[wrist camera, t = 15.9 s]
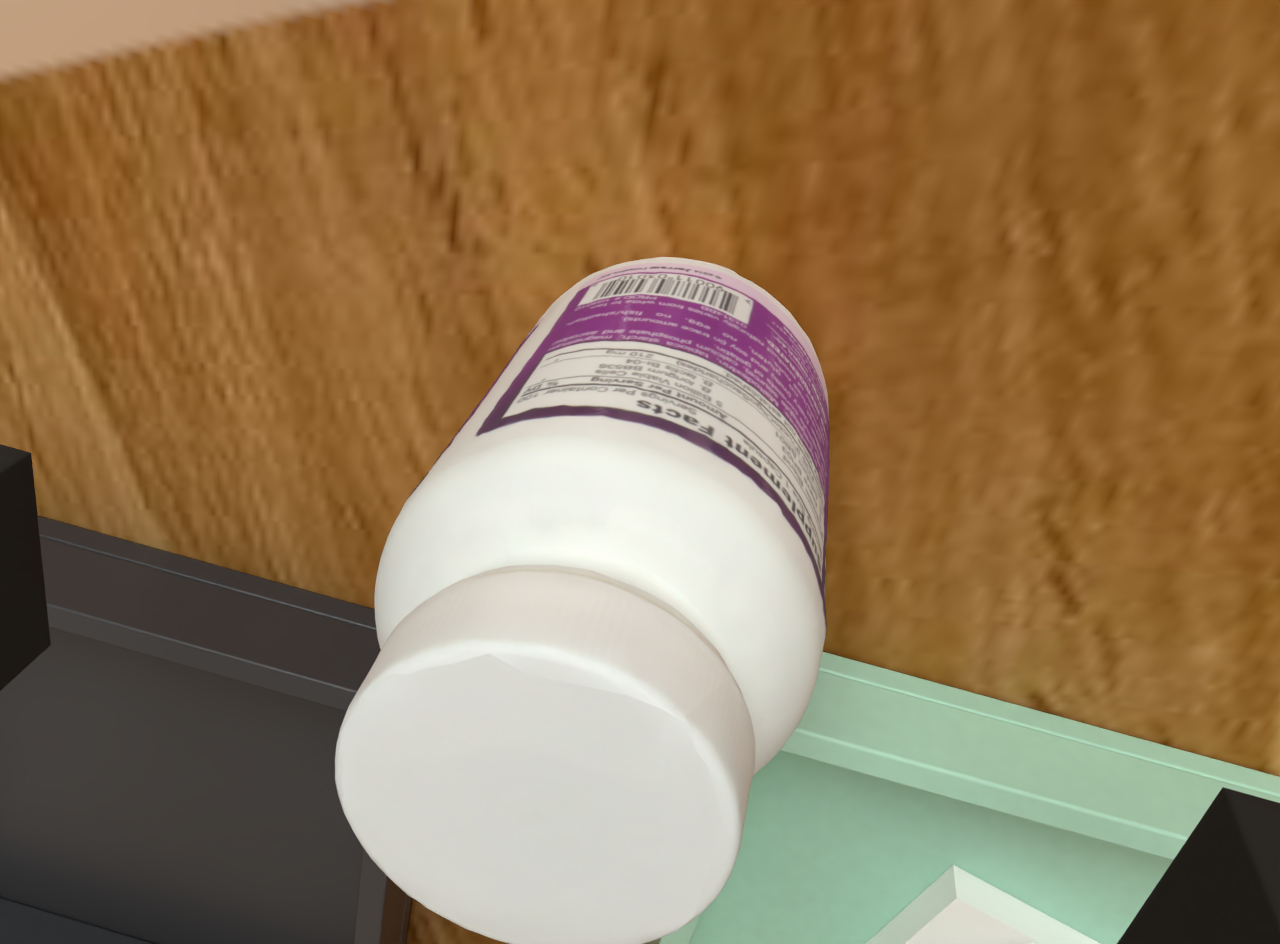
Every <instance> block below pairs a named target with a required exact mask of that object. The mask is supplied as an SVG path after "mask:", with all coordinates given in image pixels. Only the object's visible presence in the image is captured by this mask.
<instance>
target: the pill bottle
mask: <svg viewBox="0 0 1280 944" xmlns="http://www.w3.org/2000/svg"><path fill="white" fill-rule="evenodd" d="M828 491H829V408H828V394H827V389H826V384H825V380H824V376H823V373H822V369H821V366H820V363H819V360H818V357H817V355H816V353H815V350H814V348H813V346H812V343H811V341H810V339H809V338H808V336H807V335H806V333H805V332H804V331H803V329H802V328H801V327H800V326H799V324H798V323H797V321H796V320H795V318H794V317H793V316H792V315H791V313H790V312H789V311H788V310H787V309H786V308H785V307H784V306H783V305H782V304H781V303H780V302H778V301H777V300H776V299H775V298H774V297H773V296H771V295H770V294H769V293H768V292H766V291H765V290H764V289H762V288H761V287H759V286H758V285H756V284H755V283H753V282H751V281H749V280H747V279H745V278H743V277H741V276H739V275H738V274H737V273H735V272H734V271H732V270H730V269H728V268H725V267H722V266H719V265H716V264H712V263H708V262H704V261H698V260H692V259H685V258H675V257H657V258H651V259H642V260H636V261H630V262H625V263H621V264H616V265H614V266H611V267H608V268H606V269H603V270H600V271H598V272H595V273H593V274H591V275H589V276H587V277H586V278H584V279H582V280H581V281H579V282H578V283H577V284H575V285H574V286H573V287H571V288H570V289H569V290H567V291H566V292H565V293H564V294H562V295H561V296H560V297H559V298H558V299H557V300H556V301H555V302H554V303H553V304H552V305H551V306H550V307H549V308H548V310H547V311H546V312H545V313H544V314H543V316H542V317H541V318H540V320H539V321H538V323H537V324H536V325H535V327H534V328H533V329H532V330H531V331H530V332H529V333H528V335H527V337H526V339H525V340H524V341H523V343H522V344H521V345H520V346H519V348H518V349H517V351H516V352H515V354H514V355H513V357H512V358H511V360H510V361H509V362H508V364H507V365H506V367H505V368H504V369H503V371H502V372H501V374H500V375H499V377H498V378H497V379H496V381H495V382H494V384H493V385H492V387H491V388H490V389H489V391H488V392H487V393H486V395H485V396H484V398H483V399H482V400H481V401H480V403H479V404H478V405H477V407H476V408H475V409H474V411H473V412H472V414H471V415H470V416H469V418H468V419H467V420H466V422H465V423H464V424H463V426H462V427H461V428H460V430H459V431H458V433H457V434H456V435H455V437H454V438H453V439H452V441H451V442H450V444H449V445H448V447H447V448H446V449H445V450H444V451H443V452H442V453H441V455H440V456H439V458H438V459H437V461H436V462H435V464H434V465H433V467H432V468H431V469H430V471H429V472H428V473H427V474H426V476H425V477H424V478H423V479H422V481H421V482H420V483H419V485H418V486H417V487H416V488H415V489H414V491H413V492H412V493H411V495H410V496H409V498H408V499H407V501H406V502H405V504H404V506H403V508H402V510H401V512H400V514H399V515H398V517H397V519H396V521H395V523H394V525H393V527H392V529H391V531H390V533H389V536H388V538H387V541H386V544H385V546H384V549H383V552H382V555H381V559H380V563H379V568H378V572H377V577H376V585H375V621H376V630H377V638H378V642H379V645H380V649H381V651H380V653H379V655H378V657H377V659H376V660H375V662H374V664H373V666H372V668H371V669H370V671H369V673H368V674H367V676H366V678H365V680H364V681H363V683H362V685H361V686H360V688H359V690H358V691H357V693H356V695H355V696H354V698H353V700H352V702H351V703H350V705H349V707H348V709H347V712H346V715H345V717H344V720H343V722H342V725H341V728H340V732H339V736H338V740H337V744H336V754H335V782H336V787H337V792H338V796H339V799H340V802H341V805H342V809H343V812H344V814H345V816H346V818H347V820H348V822H349V824H350V826H351V828H352V830H353V831H354V833H355V835H356V837H357V838H358V840H359V841H360V843H361V845H362V846H363V848H364V849H365V851H366V852H367V853H368V855H369V856H370V858H371V859H372V860H373V861H374V862H375V863H376V865H377V866H378V867H379V868H380V869H381V870H382V871H383V872H384V873H385V874H386V875H387V876H388V877H389V878H390V879H391V880H392V881H393V882H394V883H395V884H396V885H397V886H398V887H399V888H401V889H402V890H403V891H404V892H405V893H406V894H407V895H408V896H410V897H412V898H413V899H415V900H417V901H418V902H419V903H421V904H422V905H423V906H425V907H426V908H427V909H429V910H431V911H433V912H435V913H437V914H438V915H440V916H442V917H444V918H446V919H448V920H450V921H451V922H453V923H455V924H457V925H459V926H461V927H463V928H465V929H467V930H470V931H473V932H476V933H479V934H481V935H484V936H486V937H489V938H492V939H495V940H498V941H502V942H505V943H509V944H644V943H647V942H650V941H653V940H656V939H659V938H662V937H664V936H667V935H669V934H671V933H673V932H675V931H677V930H679V929H680V928H682V927H683V926H685V925H687V924H688V923H689V922H691V921H692V920H694V919H695V918H696V917H698V916H699V915H700V914H701V913H702V912H703V911H704V910H705V909H706V908H707V907H708V906H709V905H710V904H711V903H712V902H713V901H714V900H715V899H716V898H717V897H718V895H719V894H720V892H721V891H722V889H723V888H724V886H725V884H726V882H727V880H728V879H729V877H730V875H731V872H732V869H733V867H734V864H735V861H736V858H737V856H738V853H739V849H740V844H741V838H742V833H743V827H744V821H745V815H746V809H747V802H748V795H749V790H750V787H751V783H752V778H753V775H755V774H756V773H757V772H758V771H759V770H760V769H762V768H763V767H764V766H765V765H766V764H767V763H768V762H769V761H770V760H771V759H772V758H773V757H774V756H775V755H776V754H777V753H778V752H779V750H780V749H781V748H782V747H783V746H784V745H785V743H786V742H787V741H788V739H789V738H790V736H791V735H792V733H793V732H794V730H795V729H796V727H797V725H798V724H799V722H800V720H801V718H802V716H803V714H804V712H805V710H806V708H807V706H808V704H809V702H810V699H811V696H812V693H813V690H814V687H815V684H816V680H817V676H818V672H819V667H820V661H821V657H822V652H823V647H824V641H825V636H826V611H825V583H826V539H827V517H828Z"/></svg>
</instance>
